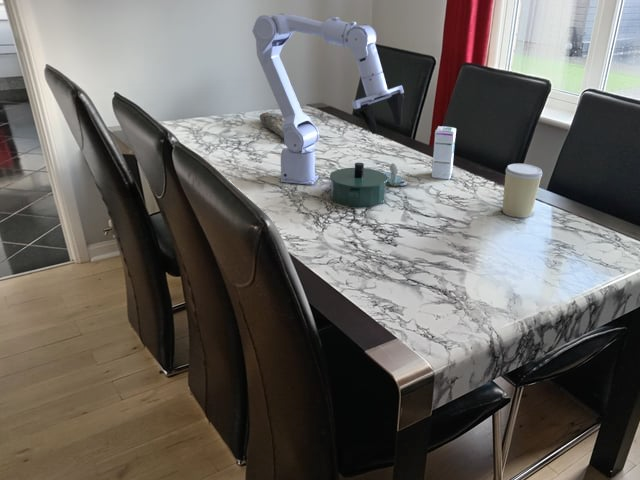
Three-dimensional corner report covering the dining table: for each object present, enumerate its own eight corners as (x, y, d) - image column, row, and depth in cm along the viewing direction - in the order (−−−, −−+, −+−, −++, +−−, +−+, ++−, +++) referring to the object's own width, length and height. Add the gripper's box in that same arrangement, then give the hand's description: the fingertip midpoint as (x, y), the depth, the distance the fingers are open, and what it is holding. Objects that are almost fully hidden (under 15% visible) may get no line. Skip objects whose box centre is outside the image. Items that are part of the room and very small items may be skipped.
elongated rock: (284, 149, 198) (311, 148, 202) (285, 133, 195) (312, 133, 200) (253, 119, 223) (278, 119, 228) (253, 105, 221) (278, 105, 225)
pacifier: (397, 179, 173) (380, 181, 170) (399, 158, 170) (382, 160, 167) (411, 186, 168) (394, 188, 165) (413, 165, 165) (396, 167, 162)
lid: (324, 187, 149) (324, 170, 147) (335, 169, 163) (335, 153, 160) (384, 192, 148) (384, 175, 146) (390, 174, 161) (391, 158, 159)
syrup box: (449, 179, 175) (455, 131, 167) (430, 177, 175) (435, 129, 168) (451, 174, 180) (457, 127, 172) (433, 172, 180) (437, 125, 173)
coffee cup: (536, 209, 157) (544, 166, 151) (532, 221, 149) (541, 176, 143) (502, 203, 159) (509, 161, 153) (496, 215, 152) (503, 170, 146)
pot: (324, 208, 149) (324, 188, 147) (338, 183, 167) (339, 165, 164) (380, 213, 148) (381, 193, 146) (388, 187, 166) (389, 169, 163)
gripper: (355, 81, 139) (371, 136, 144) (403, 65, 145) (417, 119, 150) (342, 85, 145) (358, 138, 150) (389, 70, 151) (403, 121, 156)
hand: (387, 129), depth 150 cm, fingers open, 7 cm apart
